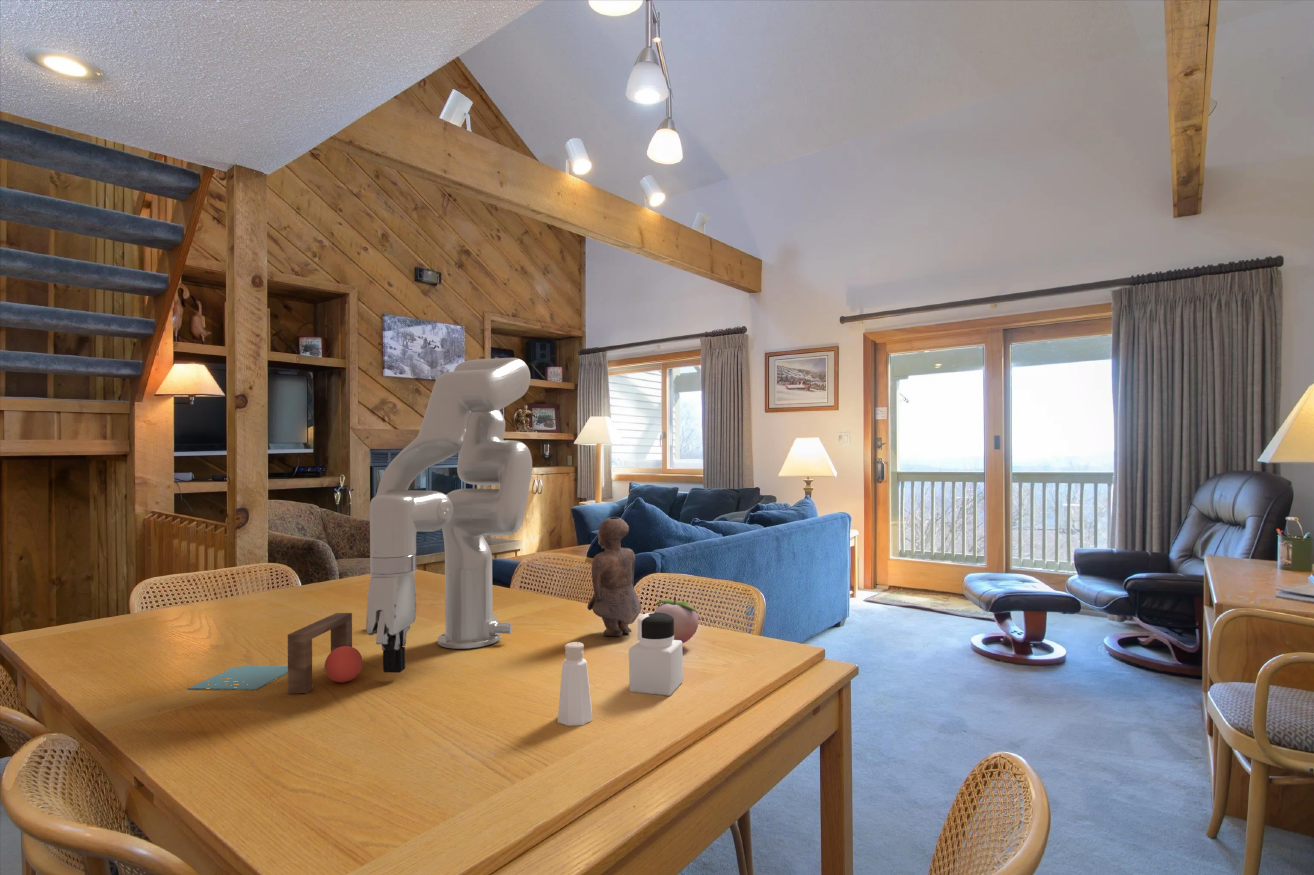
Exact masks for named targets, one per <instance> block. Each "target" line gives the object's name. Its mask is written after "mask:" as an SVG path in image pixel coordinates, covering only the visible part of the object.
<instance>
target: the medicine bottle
mask: <svg viewBox="0 0 1314 875" xmlns="http://www.w3.org/2000/svg"><path fill="white" fill-rule="evenodd" d="M637 640H638V641H637V642H636V643H635V644H633V645H632V646H631V647H629V649H628V670H629V671H628V673H629V674H628V675H629V676H628V677H629V678H628V679H629V680H628V682H629V683H628V684H629V685H628V686H629V687H628V688H629V692H632V693H638V694H639V693H640V694H649V695H656V696H657V695H658V696H668V697H670V696H671V695H673V693H675V691H676V690H677V689H678V687H680V685H681V684H682V683H683V681H684V676H683V674H684V672H683V668H684V665H683V662H684V661H683V660H684V659H683V644H682V641H681V640H674V618H673V617H672V616H671V615H669V614H666V613H660V612H655V611H654V612H647V613H643V614H641V615H640V616H638V617H637Z"/></svg>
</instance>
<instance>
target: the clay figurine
mask: <svg viewBox="0 0 1314 875" xmlns="http://www.w3.org/2000/svg"><path fill="white" fill-rule="evenodd" d="M629 527H630V526H629V525H628V523H627V522H626V521H625V520H624V519H623V518H621V517H619V516H618V517H617V516H612V517H611V516H610V517H608V518H606V519H604V520H602V522H601V523H600V525H599V527H598V532H597V538H598V543H597V544H598V545H599V546H600V547H601V549H604V551H601V552H599V553H596V555H595V556H593V559H592V562H591V579H592V587H593V593H594V594H593V596H592V597H591V599H590V600H589V602H588V603H587V610H588V611H591V610H592V612H593V613H594V614H595V615H596V616H597V617H600V618H601V620H602V622H603V623H604V626H605V630H604V631H603V632H602V636H604V637H605V636H608V637H609V636H611V637H621V636H622V635H624V634H629V633H631V632H632V629H631V628H630V627H629V625H631V624H633V623H635V621H636V619H638V618H639V615H640V613H641V610H642V605H641V602H640V600H639V598H638V595H637V593H636V590H635V588H634V578H635V561H636V553H635V552H634V551H633V549H631V548H629V547H621V540H622V539H623V538H624V537H626V536H627V535H628V534H629V532H630V528H629ZM623 633H624V634H623Z"/></svg>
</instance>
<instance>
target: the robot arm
mask: <svg viewBox="0 0 1314 875" xmlns="http://www.w3.org/2000/svg"><path fill="white" fill-rule="evenodd" d="M530 384H531V371H530V369H529V366H528V365H527V363H526V362H525V361H524V360H522V359H520V358H517V357H499V358H498V357H497V358H479V359H471V360H465V361H462V362H460V363H458V364H457V365H456V366H455V368H454V369H453V370H452V371H448V372H445V373H443V374H441V375H439V376H438V377H437V378H436V380H435V382H434V384H433V386H432V389H431V394H430V397H429V399H428V403H427V406H426V410H425V413H424V415H423V418H422V422H421V425H420V428H419V432H418V435H417V436H416V437H415V439H413V440H412V441H411V442H410V443H409V444H408V445H407V446H405V447H404V448H403V449H402V450H401V451H400V452H399V453H398V454H397V455H396V456H395V457H394V458H393V459H392V460H391V461H390V463H389V464H388V466H386V468H385V469H384V471H383V473H382V476H381V478H380V482H379V484H378V487H377V491H376V495H375V496H374V497H373V498H371V500H370V503H369V558H370V559H369V560H370V561H369V564H370V565H369V567H370V568H369V574H370V579H369V584H368V589H367V590H368V591H367V599H366V600H367V604H366V605H367V606H366V620H365V622H366V624H365V625H366V628H365V630H366V634H367V635H369V636H373V635H375V634H376V638H375V639H376V640H375V644H376V645H381V650H382V671H383V673H388V674H389V673H390V674H391V673H393V674H394V673H395V674H396V673H397V674H398V673H401V672H402V671H404V670H405V669H406V645H407V632H408V631H410V629H411V625H412V624H413V623H414V622H415V621H416V618H417V592H416V591H417V590H416V579H415V574H417V532H436V531H440V530H442V535H443V536H442V537H443V543H444V546H443V547H444V587H445V589H444V595H445V596H444V598H445V601H444V602H445V612H444V613H445V616H444V617H445V618H444V619H445V632H443V633H442V634H440V635H439V636H438V637H437V644H438V646H440V647H443V648H447V649H455V650H456V649H458V650H459V649H460V650H462V649H463V650H464V649H475V648H476V649H478V648H481V647H485V646H489V645H493V644H494V643H497V642H498V641H500V639H501V634H504V635H505V634H509V635H511V634H512V632H513V624H512V623H510V622H506V621H505V622H500V621H498V616H497V615H493V555H492V554H493V553H492V551H491V548H490V545H489V544H488V541H487V540H486V539H485V537H484V536H511V535H514V534H515V533H517V532H518V531H520V528H521V526H522V524H523V521H524V520H525V519H524V518H525V515H526V514H525V513H526V509H527V504H528V498H529V490H530V485H531V479H532V473H533V458H532V454H531V450H530V449H529V448H528V446H527V445H526V444H525V443H524V442H522V441H520V440H508V439H506V440H505V439H504V438H505V433H506V420H505V417H504V416H503V414H502V412H501V411H500V410H502V409H504V408H507V407H508V406H509V405H511V404H512V403H514V402H516V401H517V400H519V399H521V398H523V396H524V395H525V394H526V393H527V392H528V390H529V387H530ZM457 454H459V455H458V460H457V465H456V466H457V467H456V471H457V476H458V478H459V479H460V481H462V482H463V483H465V484H469V485H473V486H476V485H478V486H499V488H459V489H454V490H452V491H450V492H448V493H447V494H445V493H443V492H440V491H437V490H415V489H414V490H411V489H410V490H409V487H410V486H411V484H412V483H413V481H415V479H416V478H417V477H418V476H419V475H420V474H422V472H424V471H425V470H427V469H428V468H430V467H432V466H435V465H436V464H439V463H441V462H444V461H446V460H447V459H449V458H451V457H453V456H455V455H457Z"/></svg>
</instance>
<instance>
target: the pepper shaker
mask: <svg viewBox="0 0 1314 875" xmlns="http://www.w3.org/2000/svg"><path fill="white" fill-rule="evenodd" d="M584 647H585V645H584V643H582V642H579V641H573V642H572V641H571V642H568V643H566V644H565V645H564V649H565V652H564V653H565V659H564V660H562V666H561V674H560V675H561V677H560V678H561V679H560V690H559V701H558V710H557V713H558V714H557V723H558V724H561V725H564V726H567V727H575V726H578V727H579V726H583V725H585V724H588V723H590V722H592V721H593V710H592V699H591V690H590V681H589V671H588V662H587V660H586V659H585V658H584V654H585V653H584V652H585V651H584Z"/></svg>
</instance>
